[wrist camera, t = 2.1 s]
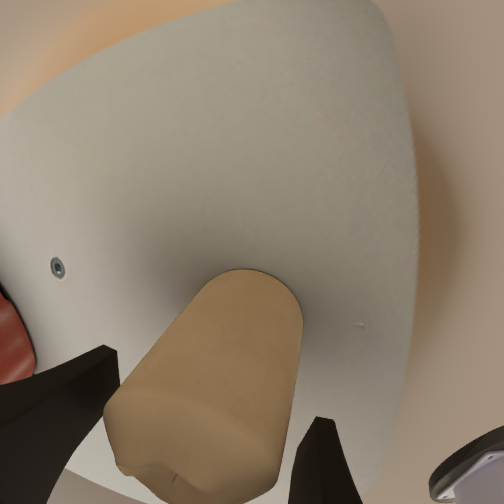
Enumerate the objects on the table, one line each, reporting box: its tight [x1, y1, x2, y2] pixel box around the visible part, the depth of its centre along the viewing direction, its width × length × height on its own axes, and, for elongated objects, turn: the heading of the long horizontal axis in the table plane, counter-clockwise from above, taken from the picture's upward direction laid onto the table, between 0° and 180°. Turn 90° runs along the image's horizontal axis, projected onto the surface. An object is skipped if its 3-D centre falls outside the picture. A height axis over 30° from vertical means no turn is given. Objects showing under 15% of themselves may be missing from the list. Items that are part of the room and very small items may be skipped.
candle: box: [103, 269, 303, 504], centre depth 11 cm, size 6×6×10 cm
